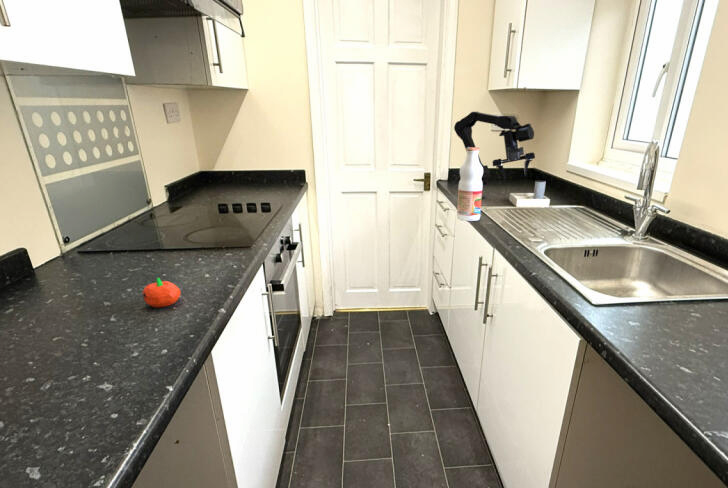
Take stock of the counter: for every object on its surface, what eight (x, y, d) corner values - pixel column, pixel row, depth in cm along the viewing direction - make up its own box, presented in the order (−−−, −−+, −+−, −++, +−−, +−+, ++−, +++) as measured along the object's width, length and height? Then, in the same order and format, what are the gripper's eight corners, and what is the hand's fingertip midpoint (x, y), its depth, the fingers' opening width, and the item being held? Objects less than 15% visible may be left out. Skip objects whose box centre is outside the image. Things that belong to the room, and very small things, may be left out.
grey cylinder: (531, 202, 194) (534, 180, 190) (540, 202, 194) (543, 180, 190) (534, 204, 190) (537, 181, 186) (544, 204, 190) (547, 181, 186)
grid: (509, 200, 203) (509, 193, 201) (539, 200, 202) (540, 193, 201) (516, 206, 189) (517, 199, 187) (548, 207, 188) (549, 199, 187)
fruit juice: (457, 215, 173) (460, 146, 162) (479, 216, 172) (484, 146, 161) (456, 221, 164) (460, 148, 154) (480, 222, 163) (485, 148, 152)
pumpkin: (160, 314, 89) (153, 287, 87) (139, 306, 93) (132, 280, 90) (190, 302, 95) (184, 276, 93) (169, 295, 99) (163, 270, 96)
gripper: (491, 147, 183) (496, 182, 186) (534, 138, 179) (538, 174, 182) (490, 148, 194) (494, 182, 197) (531, 140, 190) (535, 174, 193)
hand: (515, 178), depth 192 cm, fingers open, 9 cm apart
